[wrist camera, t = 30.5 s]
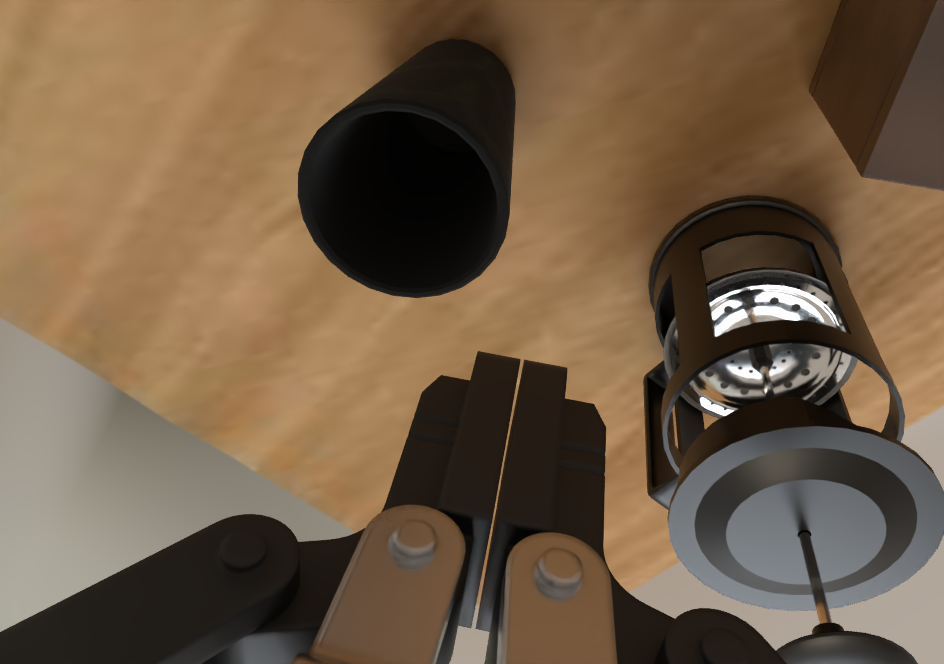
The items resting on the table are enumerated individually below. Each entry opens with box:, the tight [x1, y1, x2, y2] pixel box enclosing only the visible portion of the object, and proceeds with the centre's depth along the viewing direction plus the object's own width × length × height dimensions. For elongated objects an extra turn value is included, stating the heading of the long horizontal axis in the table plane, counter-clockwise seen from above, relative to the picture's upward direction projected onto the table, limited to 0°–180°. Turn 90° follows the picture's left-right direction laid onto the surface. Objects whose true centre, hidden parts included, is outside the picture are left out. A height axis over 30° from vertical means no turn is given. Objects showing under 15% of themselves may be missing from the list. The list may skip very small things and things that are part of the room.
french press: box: [643, 197, 944, 664], centre depth 32 cm, size 12×9×23 cm
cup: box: [298, 39, 515, 298], centre depth 33 cm, size 8×8×12 cm
